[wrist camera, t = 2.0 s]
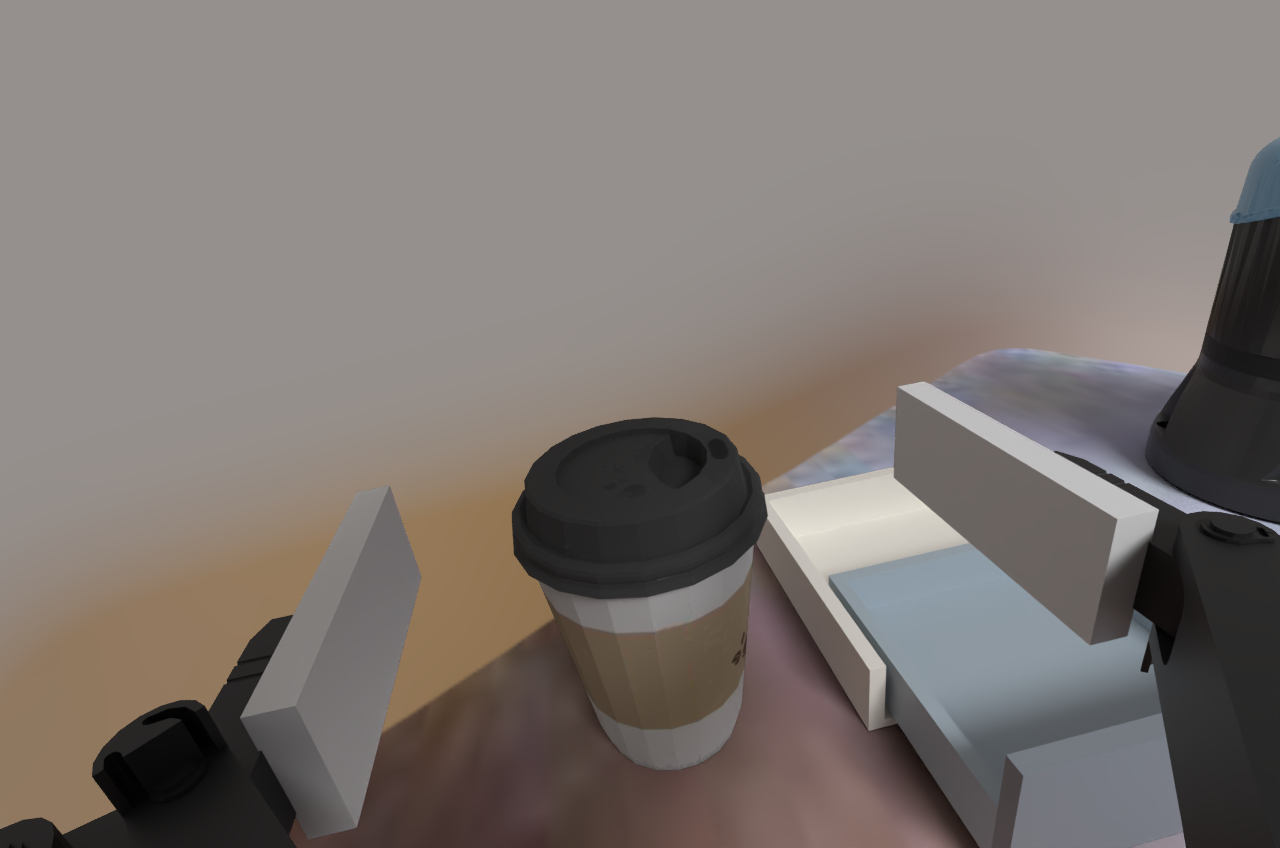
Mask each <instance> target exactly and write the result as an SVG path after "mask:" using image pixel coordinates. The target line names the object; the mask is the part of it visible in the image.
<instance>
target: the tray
mask: <svg viewBox="0 0 1280 848" xmlns="http://www.w3.org/2000/svg"><path fill="white" fill-rule="evenodd" d="M829 587H830V588H831V590H832V591H833V592H834V594H835V595H836V597H837V598H838V599H839V601H840V602H841V604H842V605H843V606H844V608H845V609H846V611H847V612H848V613H849V615H850V616H851V618H852V619H853V620H854V622H855V623H856V625H857V626H858V627H859V629H860V630H861V632H862V633H863V634H864V636H865V637H866V639H867V640H868V641H869V643H870V644H871V646H872V647H873V649H874V650H875V651H876V653H877V654H878V656H879V657H880V658H881V660H882V661H883V663H884V664H885V665H886V688H885V705H886V706H887V708H888V709H889V711H890V713H891V714H892V716H893V717H894V719H895V720H896V722H897V723H898V725H899V726H900V728H901V729H902V731H903V732H904V734H905V735H906V737H907V738H908V740H909V741H910V743H911V744H912V746H913V747H914V749H915V750H916V752H917V753H918V755H919V756H920V758H921V759H922V761H923V762H924V764H925V766H926V767H927V769H928V770H929V772H930V773H931V775H932V776H933V778H934V779H935V781H936V782H937V784H938V785H939V787H940V788H941V790H942V791H943V793H944V794H945V796H946V797H947V799H948V800H949V802H950V803H951V805H952V806H953V808H954V809H955V811H956V812H957V814H958V815H959V817H960V819H961V820H962V822H963V823H964V825H965V826H966V828H967V829H968V831H969V832H970V834H971V835H972V837H973V838H974V840H975V841H976V843H977V844H978V846H979V847H980V848H1130V847H1134V846H1137V845H1141V844H1144V843H1147V842H1151V841H1154V840H1158V839H1161V838H1165V837H1168V836H1171V835H1175V834H1178V833H1182V832H1183V827H1182V822H1181V816H1180V811H1179V805H1178V800H1177V794H1176V789H1175V783H1174V777H1173V772H1172V766H1171V761H1170V755H1169V750H1168V744H1167V739H1166V733H1165V728H1164V722H1163V717H1162V711H1161V705H1160V700H1159V694H1158V689H1157V683H1156V678H1155V672H1154V667H1153V664H1152V665H1150V668H1149V671H1148V673H1145V672H1141V671H1140V670H1141V665H1142V661H1143V657H1144V653H1145V650H1146V646H1147V642H1148V638H1149V635H1150V631H1151V627H1152V624H1153V623H1152V622H1151V621H1150V620H1148V619H1147V618H1146V617H1144V616H1143V615H1142V614H1140V613H1139V612H1137V611H1136V610H1135V609H1134V612H1133V616H1132V620H1131V624H1130V628H1129V632H1128V636H1127V637H1123V638H1119V639H1115V640H1110V641H1106V642H1102V643H1098V644H1094V645H1089V644H1087V643H1086V642H1085V641H1084V640H1083V639H1082V638H1080V637H1079V636H1078V635H1077V634H1076V633H1075V632H1073V631H1072V630H1071V629H1070V628H1069V627H1068V626H1066V625H1065V624H1064V623H1063V622H1062V621H1061V620H1059V619H1058V618H1057V617H1056V616H1055V615H1054V614H1052V613H1051V612H1050V611H1049V610H1048V609H1046V608H1045V607H1044V606H1043V605H1042V604H1041V603H1039V602H1038V601H1037V600H1036V599H1035V598H1034V597H1032V596H1031V595H1030V594H1029V593H1028V592H1027V591H1025V590H1024V589H1023V588H1022V587H1021V586H1020V585H1018V584H1017V583H1016V582H1015V581H1014V580H1013V579H1011V578H1010V577H1009V576H1008V575H1007V574H1006V573H1004V572H1003V571H1002V570H1001V569H1000V568H999V567H997V566H996V565H995V564H994V563H993V562H992V561H990V560H989V559H988V558H987V557H986V556H985V555H983V554H982V553H981V552H980V551H979V550H978V549H976V548H975V547H974V546H973V545H972V544H971V543H967V544H963V545H959V546H954V547H950V548H946V549H941V550H937V551H933V552H928V553H924V554H920V555H915V556H911V557H907V558H903V559H898V560H894V561H890V562H885V563H881V564H877V565H872V566H868V567H864V568H859V569H855V570H851V571H846V572H842V573H838V574H833V575H829Z"/></svg>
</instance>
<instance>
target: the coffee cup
mask: <svg viewBox="0 0 1280 848" xmlns="http://www.w3.org/2000/svg"><path fill="white" fill-rule="evenodd" d="M524 482H525V490H524V491H523V492H522V494H521V496H520V498H519V500H518V501H517V503H516V505H515V508H514V509H513V511H512V527H513V529H512V530H513V540H514V541H513V544H514V555H515V556H516V558H517V559H518V560H519V562H520V563H521V565H522V566H523V568H524V569H525V570H526V572H527V573H528V575H529V576H531V577H533V578H535V579H537V580H538V581H539V583H540V585H541V588H542V590H543V592H544V595H545V597H546V599H547V601H548V604H549V606H550V608H551V611H552V613H553V615H554V618H555V620H556V622H557V625H558V627H559V629H560V632H561V634H562V636H563V639H564V641H565V643H566V645H567V648H568V650H569V652H570V655H571V657H572V659H573V662H574V664H575V666H576V669H577V671H578V673H579V676H580V678H581V680H582V682H583V685H584V687H585V689H586V692H587V694H588V696H589V699H590V701H591V703H592V706H593V708H594V710H595V713H596V715H597V717H598V719H599V722H600V724H601V726H602V728H603V729H604V731H605V732H606V734H607V735H608V737H609V739H610V740H611V742H612V743H613V744H615V746H616V747H617V749H618V750H619V752H620V753H622V754H623V755H625V756H626V757H627V758H629V759H630V760H631V761H633V762H634V763H635V764H638V765H642V766H645V767H648V768H651V769H654V770H681V769H684V768H687V767H690V766H694V765H697V764H700V763H702V762H703V761H705V760H706V759H708V758H709V757H711V756H712V755H714V754H715V753H717V752H718V751H719V750H720V749H721V748H722V747H723V745H724V744H725V743H726V741H727V740H728V739H729V738H730V736H731V735H732V732H733V729H734V726H735V723H736V720H737V717H738V714H739V711H740V708H741V705H742V693H743V680H744V667H745V654H746V641H747V628H748V615H749V601H750V588H751V575H752V562H753V549H754V544H755V543H756V542H757V541H758V539H759V536H760V534H761V532H762V529H763V527H764V524H765V522H766V520H767V517H768V513H767V507H766V501H765V495H764V493H763V491H762V487H761V480H760V477H759V474H758V473H757V472H756V471H755V470H754V469H753V467H752V466H751V465H750V464H749V463H748V461H746V459H745V458H744V457H742V456H740V455H738V451H737V448H736V447H735V446H734V444H733V443H732V442H731V441H730V440H729V438H728V437H727V436H726V435H725V434H723V433H721V432H719V431H717V430H715V429H713V428H711V427H709V426H707V425H705V424H701V423H697V422H692V421H688V420H684V419H674V418H642V419H631V420H624V421H619V422H614V423H610V424H605V425H600V426H597V427H594V428H591V429H589V430H586V431H583V432H581V433H578V434H575V435H573V436H571V437H569V438H567V439H565V440H564V441H562V442H560V443H558V444H556V445H555V446H553V447H551V448H550V449H549V450H548V451H547V452H545V453H544V454H543V455H542V456H541V457H540V458H539V459H538V460H537V461H535V462H534V463H533V465H532V467H531V469H530V471H529V473H528V474H527V476H526V479H525V481H524Z"/></svg>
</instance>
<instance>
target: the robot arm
mask: <svg viewBox="0 0 1280 848" xmlns="http://www.w3.org/2000/svg"><path fill="white" fill-rule="evenodd" d="M1230 223H1234V226H1233V230H1232V234H1231V238H1230V242H1229V245H1228V249H1227V253H1226V257H1225V261H1224V264H1223V268H1222V272H1221V276H1220V280H1219V284H1218V287H1217V291H1216V295H1215V299H1214V302H1213V306H1212V310H1211V314H1210V318H1209V321H1208V325H1207V329H1206V333H1205V338H1204V341H1203V345H1202V349H1201V352H1200V356H1199V358H1198V360H1197V362H1196V363H1195V365H1194V366H1193V368H1192V369H1191V370H1190V371H1189V373H1188V374H1187V376H1186V377H1185V378H1184V380H1183V381H1182V382H1181V384H1180V385H1179V387H1178V388H1177V389H1176V391H1175V392H1174V393H1173V395H1172V396H1171V398H1170V399H1169V400H1168V402H1167V403H1166V405H1165V406H1164V408H1163V409H1162V411H1161V412H1160V413H1159V414H1158V416H1157V417H1156V419H1155V420H1154V422H1153V424H1152V426H1151V429H1150V434H1149V438H1148V442H1147V447H1146V458H1147V460H1148V462H1149V463H1150V465H1151V466H1152V467H1153V469H1154V470H1155V471H1156V472H1157V473H1158V474H1160V475H1161V476H1162V477H1163V478H1165V479H1166V480H1167V481H1169V482H1171V483H1172V484H1174V485H1175V486H1177V487H1179V488H1181V489H1182V490H1184V491H1186V492H1188V493H1190V494H1192V495H1195V496H1197V497H1199V498H1201V499H1204V500H1206V501H1209V502H1211V503H1214V504H1216V505H1219V506H1222V507H1225V508H1228V509H1231V510H1234V511H1237V512H1240V513H1244V514H1247V515H1251V516H1255V517H1258V518H1262V519H1266V520H1271V521H1275V522H1280V137H1279V138H1277V139H1276V140H1274V141H1272V142H1271V143H1269V144H1268V145H1267V146H1266V147H1264V148H1263V149H1262V150H1261V151H1260V152H1259V153H1258V154H1257V155H1256V157H1255V159H1254V160H1253V161H1252V163H1251V166H1250V168H1249V171H1248V174H1247V177H1246V180H1245V184H1244V187H1243V190H1242V193H1241V196H1240V199H1239V202H1238V205H1237V208H1236V209H1235V210H1234V211H1233V212H1232V214H1231V216H1230ZM894 478H895V479H896V480H897V481H898V482H899V483H901V484H902V485H903V486H904V487H905V488H906V489H908V490H909V491H910V492H911V493H912V494H913V495H915V496H916V497H917V498H918V499H919V500H920V501H922V502H923V503H924V504H925V505H926V506H927V507H929V508H930V509H931V510H932V511H933V512H934V513H936V514H937V515H938V516H939V517H940V518H941V519H943V520H944V521H945V522H946V523H947V524H948V525H950V526H951V527H952V528H953V529H954V530H955V531H957V532H958V533H959V534H960V535H961V536H962V537H964V538H965V539H966V540H967V541H968V542H969V543H971V544H972V545H973V546H974V547H975V548H976V549H978V550H979V551H980V552H981V553H982V554H983V555H985V556H986V557H987V558H988V559H989V560H990V561H992V562H993V563H994V564H995V565H996V566H997V567H999V568H1000V569H1001V570H1002V571H1003V572H1004V573H1006V574H1007V575H1008V576H1009V577H1010V578H1011V579H1013V580H1014V581H1015V582H1016V583H1017V584H1018V585H1020V586H1021V587H1022V588H1023V589H1024V590H1025V591H1027V592H1028V593H1029V594H1030V595H1031V596H1032V597H1034V598H1035V599H1036V600H1037V601H1038V602H1039V603H1041V604H1042V605H1043V606H1044V607H1045V608H1046V609H1048V610H1049V611H1050V612H1051V613H1052V614H1054V615H1055V616H1056V617H1057V618H1058V619H1059V620H1061V621H1062V622H1063V623H1064V624H1065V625H1066V626H1068V627H1069V628H1070V629H1071V630H1072V631H1073V632H1075V633H1076V634H1077V635H1078V636H1079V637H1080V638H1082V639H1083V640H1084V641H1085V642H1086V643H1087V644H1089V645H1094V644H1098V643H1102V642H1106V641H1110V640H1115V639H1119V638H1123V637H1127V636H1128V632H1129V628H1130V624H1131V620H1132V616H1133V612H1134V609H1135V610H1136V611H1137V612H1139V613H1140V614H1142V615H1143V616H1144V617H1146V618H1147V619H1148V620H1150V621H1151V622H1152V623H1153V624H1152V627H1151V631H1150V635H1149V638H1148V642H1147V646H1146V650H1145V653H1144V657H1143V661H1142V665H1141V670H1140V671H1141V672H1145V673H1148V671H1149V668H1150V665H1152V664H1153V667H1154V672H1155V678H1156V683H1157V689H1158V694H1159V700H1160V705H1161V711H1162V717H1163V722H1164V728H1165V733H1166V739H1167V744H1168V750H1169V755H1170V761H1171V766H1172V772H1173V777H1174V783H1175V789H1176V794H1177V800H1178V805H1179V811H1180V816H1181V822H1182V827H1183V833H1184V838H1185V844H1186V848H1280V535H1278V534H1277V533H1276V532H1275V531H1274V530H1272V529H1270V528H1268V527H1266V526H1265V525H1263V524H1261V523H1259V522H1256V521H1253V520H1250V519H1247V518H1245V517H1242V516H1237V515H1232V514H1227V513H1222V512H1207V511H1202V512H1195V513H1189V514H1186V513H1184V512H1182V511H1180V510H1178V509H1177V508H1175V507H1173V506H1171V505H1169V504H1167V503H1165V502H1163V501H1162V500H1160V499H1158V498H1156V497H1154V496H1152V495H1150V494H1148V493H1146V492H1145V491H1143V490H1141V489H1139V488H1137V487H1135V486H1133V485H1131V484H1130V483H1127V484H1125V483H1124V480H1122V479H1120V478H1118V477H1116V476H1114V475H1113V474H1111V473H1110V474H1107V473H1106V471H1105V470H1103V469H1101V468H1099V467H1097V466H1096V465H1094V464H1092V463H1090V462H1088V461H1086V460H1084V459H1081V458H1078V457H1075V456H1071V455H1068V454H1065V453H1061V452H1058V451H1054V452H1053V451H1051V450H1049V449H1047V448H1045V447H1044V446H1042V445H1040V444H1038V443H1036V442H1034V441H1033V440H1031V439H1029V438H1027V437H1025V436H1023V435H1022V434H1020V433H1018V432H1016V431H1014V430H1012V429H1011V428H1009V427H1007V426H1005V425H1003V424H1001V423H1000V422H998V421H996V420H994V419H992V418H991V417H989V416H987V415H985V414H983V413H981V412H980V411H978V410H976V409H974V408H972V407H970V406H969V405H967V404H965V403H963V402H961V401H959V400H958V399H956V398H954V397H952V396H950V395H949V394H947V393H945V392H943V391H941V390H939V389H938V388H936V387H934V386H932V385H930V384H928V383H926V382H924V381H923V382H918V383H913V384H908V385H903V386H898V387H897V405H896V430H895V454H894ZM420 581H421V574H420V572H419V569H418V566H417V563H416V560H415V557H414V554H413V551H412V549H411V546H410V543H409V540H408V537H407V534H406V531H405V528H404V526H403V523H402V520H401V517H400V514H399V511H398V508H397V506H396V502H395V500H394V497H393V494H392V491H391V488H390V486H385V487H380V488H375V489H370V490H365V491H360V492H357V493H356V496H355V497H354V499H353V501H352V503H351V505H350V507H349V509H348V511H347V513H346V515H345V517H344V519H343V520H342V523H341V524H340V527H339V528H338V530H337V532H336V534H335V536H334V538H333V540H332V542H331V544H330V546H329V548H328V549H327V551H326V553H325V555H324V557H323V559H322V561H321V563H320V565H319V567H318V569H317V571H316V573H315V575H314V576H313V579H312V580H311V582H310V584H309V586H308V588H307V590H306V592H305V594H304V596H303V598H302V599H301V601H300V603H299V605H298V607H297V609H296V611H295V613H294V615H290V616H286V617H281V618H276V619H272V620H271V621H270V622H269V623H268V624H266V626H264V627H263V628H262V629H261V630H260V631H259V632H258V633H257V634H256V635H255V636H254V637H253V638H252V639H251V640H250V641H249V643H248V645H247V646H246V648H245V650H244V651H243V653H242V655H241V657H240V658H239V660H238V662H237V663H238V665H237V666H235V667H234V669H233V670H232V672H231V674H230V675H229V677H228V679H227V684H226V685H224V686H223V687H222V689H221V691H220V693H219V694H218V696H217V698H216V700H215V701H214V703H213V705H212V706H211V708H210V710H209V711H207V709H206V708H205V706H204V705H202V704H201V703H199V702H198V701H196V700H180V701H176V702H173V703H169V704H166V705H163V706H160V707H158V708H156V709H154V710H152V711H150V712H148V713H146V714H144V715H142V716H140V717H138V718H137V719H136V720H134V721H133V722H131V723H130V724H128V725H127V726H126V727H124V728H123V729H121V730H120V731H119V732H118V733H117V734H116V735H115V736H114V737H113V738H112V739H111V740H110V741H109V742H108V743H107V744H106V745H105V746H104V747H103V748H102V750H101V751H100V753H99V754H98V756H97V758H96V760H95V761H94V763H93V771H92V777H93V778H94V780H95V781H96V783H97V784H98V785H99V787H100V788H101V789H102V791H103V792H104V793H105V795H106V796H107V797H108V799H109V800H110V801H111V803H112V804H113V805H114V807H115V808H116V809H117V810H115V811H113V812H110V813H108V814H106V815H104V816H102V817H100V818H98V819H95V820H93V821H91V822H89V823H87V824H85V825H83V826H80V827H78V828H76V829H74V830H72V831H70V832H68V833H66V834H63V835H62V834H61V833H60V832H59V830H58V829H57V828H56V827H55V825H54V824H53V823H52V822H50V821H48V820H46V819H43V818H34V819H26V820H22V821H19V822H17V823H15V824H12V825H9V826H7V827H4V828H2V829H0V848H297V847H296V846H295V844H294V843H293V841H292V840H291V838H290V837H289V833H290V831H291V828H292V825H293V822H294V819H295V817H296V819H297V820H298V822H299V824H300V826H301V828H302V829H303V831H304V833H305V835H306V836H307V838H308V840H309V839H313V838H317V837H321V836H325V835H329V834H333V833H337V832H341V831H345V830H349V829H353V828H357V826H358V822H359V818H360V814H361V810H362V806H363V802H364V799H365V795H366V791H367V787H368V783H369V779H370V775H371V771H372V767H373V764H374V760H375V756H376V752H377V748H378V744H379V740H380V736H381V732H382V728H383V725H384V721H385V716H386V713H387V709H388V705H389V701H390V697H391V693H392V690H393V686H394V682H395V677H396V674H397V670H398V666H399V662H400V658H401V654H402V651H403V647H404V643H405V639H406V635H407V631H408V627H409V623H410V619H411V616H412V612H413V608H414V604H415V600H416V596H417V592H418V588H419V584H420Z"/></svg>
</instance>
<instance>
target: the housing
mask: <svg viewBox="0 0 1280 848" xmlns="http://www.w3.org/2000/svg"><path fill="white" fill-rule="evenodd" d="M765 501H766V507H767V513H768V517H767V520H766V522H765V524H764V527H763V529H762V532H761V534H760V536H759V539H758V541H757V542H756V543H757V546H758V548H759V549H760V551H761V553H762V554H763V556H764V558H765V559H766V561H767V563H768V564H769V566H770V568H771V569H772V571H773V573H774V574H775V576H776V578H777V579H778V581H779V583H780V584H781V586H782V588H783V589H784V591H785V593H786V594H787V596H788V598H789V599H790V601H791V603H792V604H793V606H794V608H795V609H796V611H797V613H798V614H799V616H800V618H801V619H802V621H803V623H804V624H805V626H806V628H807V629H808V631H809V633H810V634H811V636H812V638H813V639H814V641H815V643H816V644H817V646H818V648H819V649H820V651H821V653H822V654H823V656H824V658H825V659H826V661H827V663H828V664H829V666H830V668H831V669H832V671H833V673H834V674H835V676H836V678H837V679H838V681H839V683H840V684H841V686H842V688H843V689H844V691H845V693H846V694H847V696H848V698H849V699H850V701H851V703H852V704H853V706H854V708H855V709H856V711H857V712H858V714H859V716H860V717H861V719H862V721H863V722H864V724H865V726H866V727H867V729H868V731H871V730H875V729H879V728H882V727H886V726H890V725H894V724H898V723H897V722H896V720H895V719H894V717H893V716H892V714H891V713H890V711H889V709H888V708H887V706H886V705H885V688H886V665H885V664H884V663H883V661H882V660H881V658H880V657H879V656H878V654H877V653H876V651H875V650H874V649H873V647H872V646H871V644H870V643H869V641H868V640H867V639H866V637H865V636H864V634H863V633H862V632H861V630H860V629H859V627H858V626H857V625H856V623H855V622H854V620H853V619H852V618H851V616H850V615H849V613H848V612H847V611H846V609H845V608H844V606H843V605H842V604H841V602H840V601H839V599H838V598H837V597H836V595H835V594H834V592H833V591H832V590H831V588H830V587H829V575H833V574H838V573H842V572H846V571H851V570H855V569H859V568H864V567H868V566H872V565H877V564H881V563H885V562H890V561H894V560H898V559H903V558H907V557H911V556H915V555H920V554H924V553H928V552H933V551H937V550H941V549H946V548H950V547H954V546H959V545H963V544H967V543H969V542H968V541H967V540H966V539H965V538H964V537H962V536H961V535H960V534H959V533H958V532H957V531H955V530H954V529H953V528H952V527H951V526H950V525H948V524H947V523H946V522H945V521H944V520H943V519H941V518H940V517H939V516H938V515H937V514H936V513H934V512H933V511H932V510H931V509H930V508H929V507H927V506H926V505H925V504H924V503H923V502H922V501H920V500H919V499H918V498H917V497H916V496H915V495H913V494H912V493H911V492H910V491H909V490H908V489H906V488H905V487H904V486H903V485H902V484H901V483H899V482H898V481H897V480H896V479H895V478H894V467H891V468H887V469H882V470H877V471H873V472H868V473H864V474H859V475H854V476H850V477H845V478H840V479H836V480H831V481H826V482H822V483H817V484H813V485H808V486H803V487H799V488H794V489H789V490H785V491H780V492H775V493H771V494H766V495H765Z"/></svg>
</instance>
